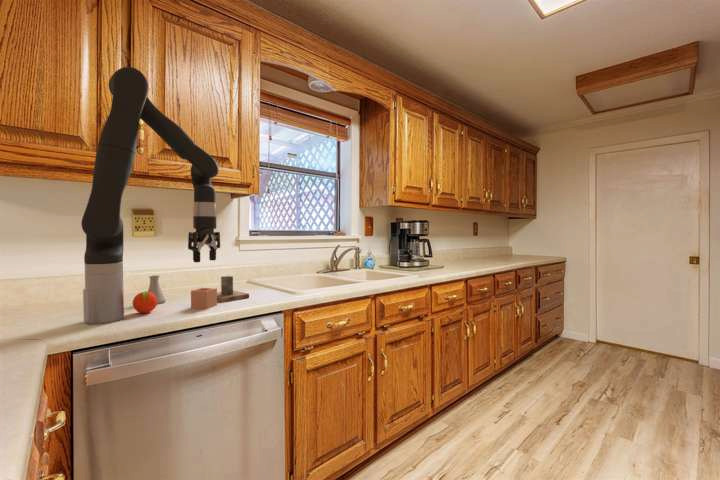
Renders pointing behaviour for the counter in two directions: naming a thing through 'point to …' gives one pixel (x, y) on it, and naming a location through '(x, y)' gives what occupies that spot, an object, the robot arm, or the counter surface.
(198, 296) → the collar
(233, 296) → the post base
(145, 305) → the red tomato
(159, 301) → the flask
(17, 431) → the counter surface
